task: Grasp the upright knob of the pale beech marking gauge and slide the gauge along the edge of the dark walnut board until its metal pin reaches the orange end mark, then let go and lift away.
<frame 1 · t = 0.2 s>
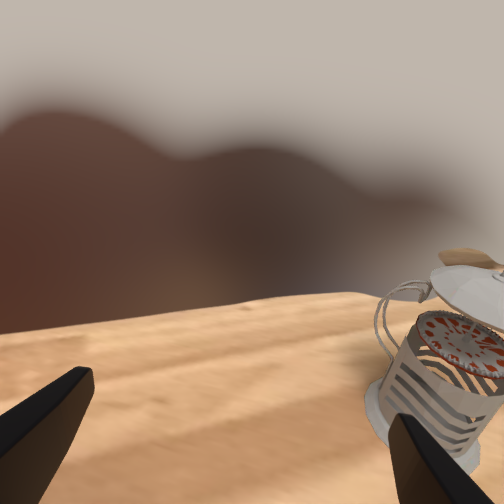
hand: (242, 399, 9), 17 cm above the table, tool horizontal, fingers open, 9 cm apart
french press: (408, 414, 30), on the table
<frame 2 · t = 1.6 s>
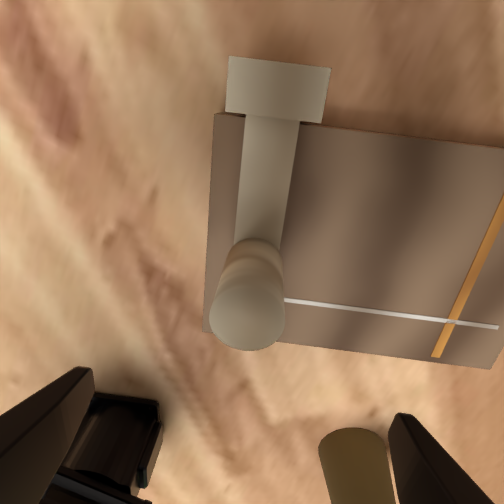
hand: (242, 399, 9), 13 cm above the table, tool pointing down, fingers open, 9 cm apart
gauge: (259, 219, 16), point 5 cm above the table, slide at 0.0 cm
board: (364, 247, 21), on the table
cork: (351, 448, 30), on the table
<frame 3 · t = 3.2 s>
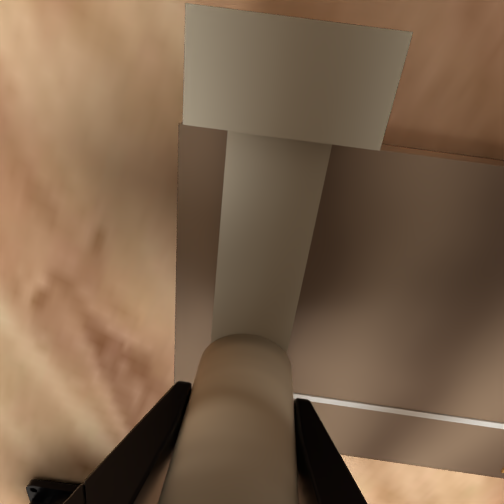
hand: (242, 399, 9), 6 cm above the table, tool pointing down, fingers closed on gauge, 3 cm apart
gauge: (254, 312, 9), point 5 cm above the table, slide at 0.0 cm, touching gripper
board: (410, 317, 14), on the table
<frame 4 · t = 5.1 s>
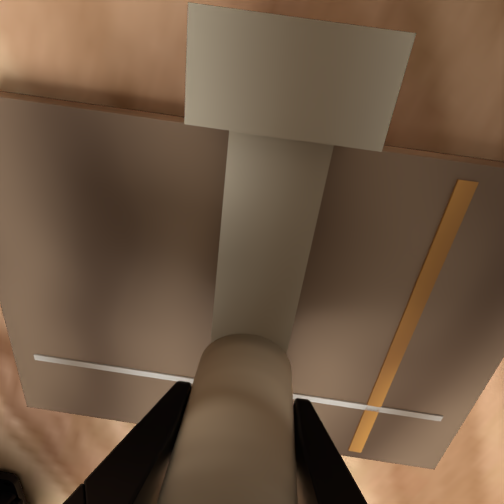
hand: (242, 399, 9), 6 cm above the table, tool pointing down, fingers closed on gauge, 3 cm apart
gauge: (254, 312, 9), point 5 cm above the table, slide at 7.2 cm, touching gripper
board: (249, 295, 14), on the table
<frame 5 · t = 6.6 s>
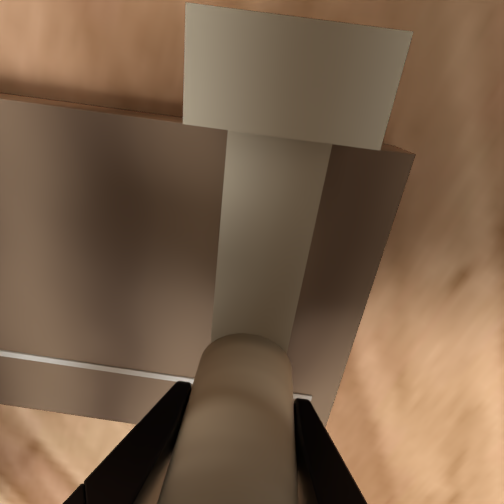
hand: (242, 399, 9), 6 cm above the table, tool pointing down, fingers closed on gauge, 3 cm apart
gauge: (254, 312, 9), point 5 cm above the table, slide at 12.9 cm, touching gripper
board: (124, 277, 14), on the table
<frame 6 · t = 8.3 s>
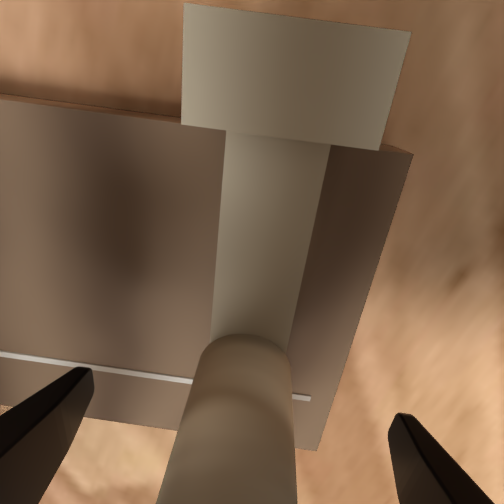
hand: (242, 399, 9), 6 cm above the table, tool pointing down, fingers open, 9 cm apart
gauge: (253, 312, 9), point 5 cm above the table, slide at 12.9 cm
board: (122, 277, 14), on the table
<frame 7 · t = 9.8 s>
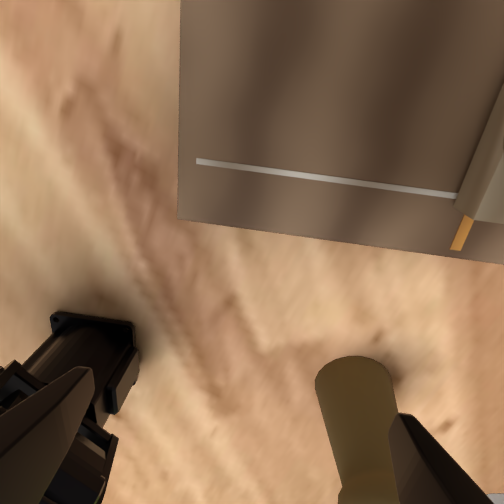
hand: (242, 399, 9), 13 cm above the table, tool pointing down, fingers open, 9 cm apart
board: (372, 110, 17), on the table
cork: (351, 382, 26), on the table
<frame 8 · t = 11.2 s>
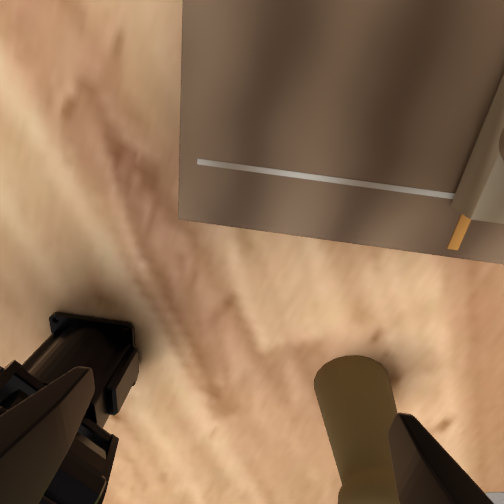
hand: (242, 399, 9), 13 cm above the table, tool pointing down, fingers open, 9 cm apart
board: (370, 112, 18), on the table
cork: (350, 382, 26), on the table
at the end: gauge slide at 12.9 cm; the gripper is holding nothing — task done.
